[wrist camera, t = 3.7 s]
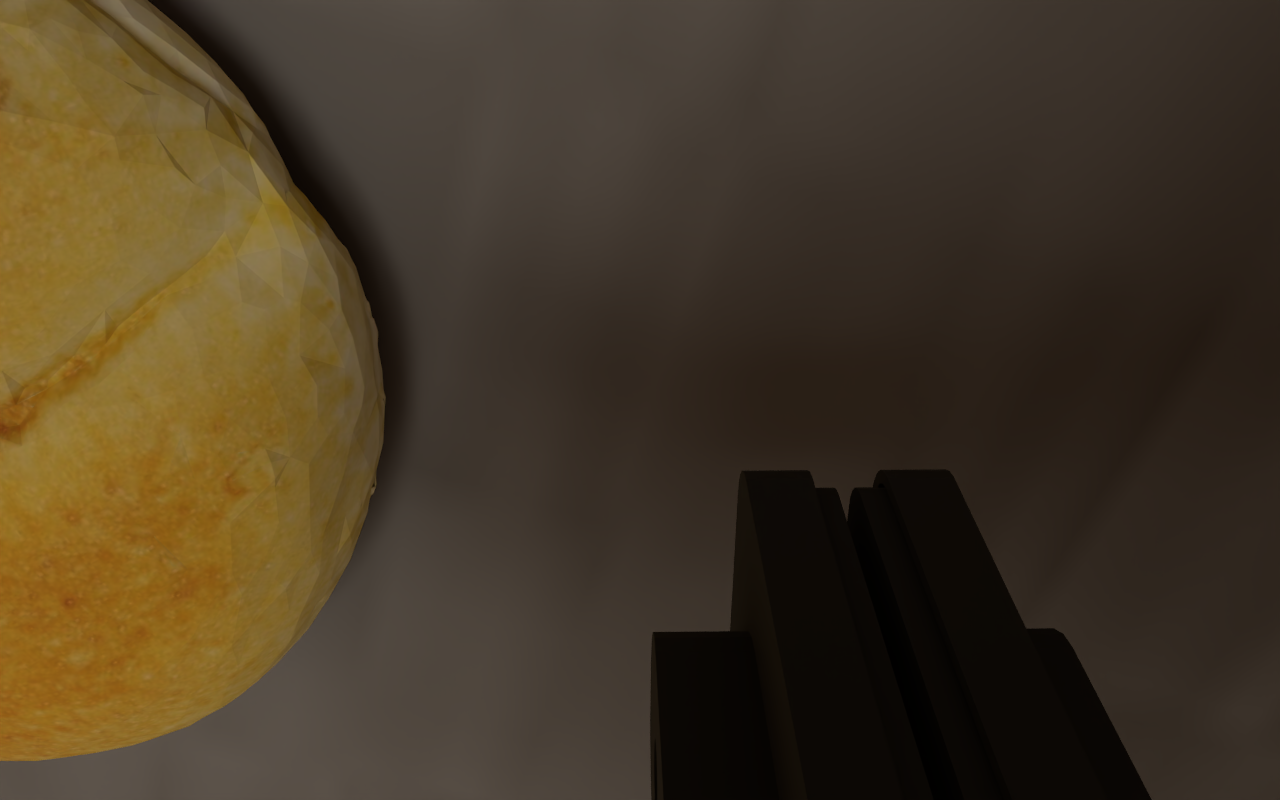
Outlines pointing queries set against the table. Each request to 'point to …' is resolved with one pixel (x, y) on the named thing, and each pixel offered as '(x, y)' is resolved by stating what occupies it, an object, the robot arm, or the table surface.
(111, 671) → the bread roll
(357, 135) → the table surface
